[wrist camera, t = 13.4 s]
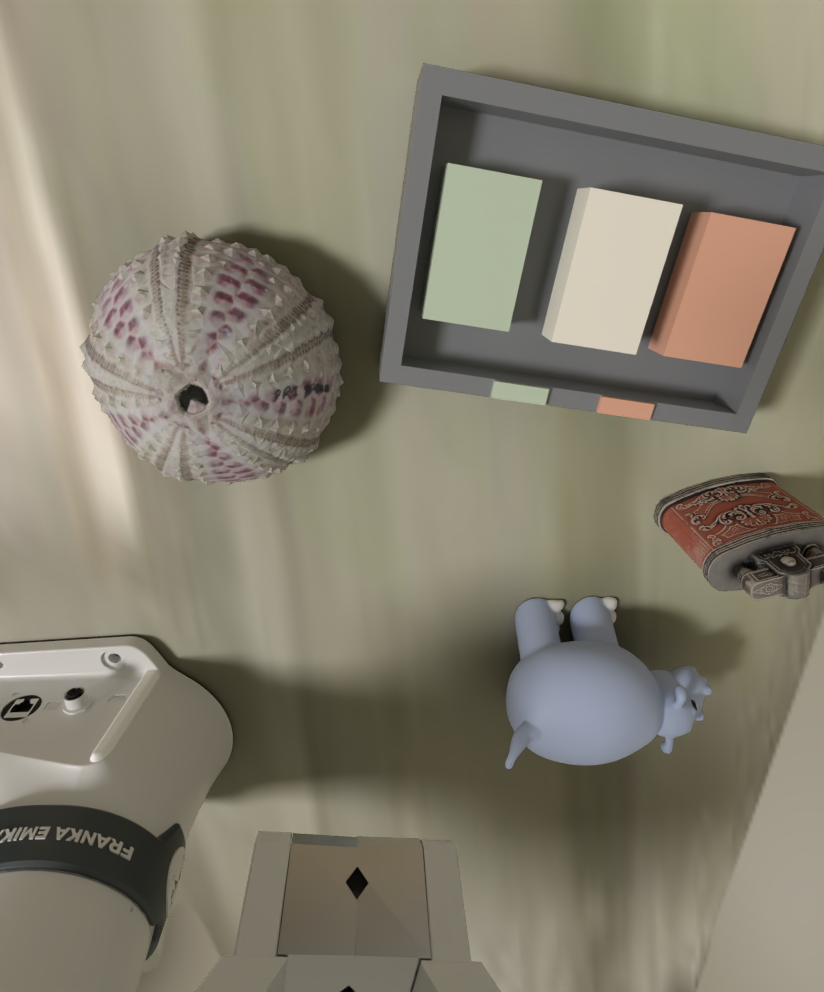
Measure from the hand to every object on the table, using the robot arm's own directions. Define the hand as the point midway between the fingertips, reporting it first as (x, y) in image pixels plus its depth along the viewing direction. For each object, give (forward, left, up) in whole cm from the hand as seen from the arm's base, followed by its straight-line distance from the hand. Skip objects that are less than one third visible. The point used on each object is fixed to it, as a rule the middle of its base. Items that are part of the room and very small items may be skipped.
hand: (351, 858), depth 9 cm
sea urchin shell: (-8, 0, -30) cm, 31 cm away
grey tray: (+11, +8, -29) cm, 32 cm away
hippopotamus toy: (+18, -19, -29) cm, 40 cm away
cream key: (+11, +8, -26) cm, 29 cm away
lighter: (+24, -5, -29) cm, 38 cm away
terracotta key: (+17, +8, -27) cm, 33 cm away
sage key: (+5, +8, -27) cm, 29 cm away
